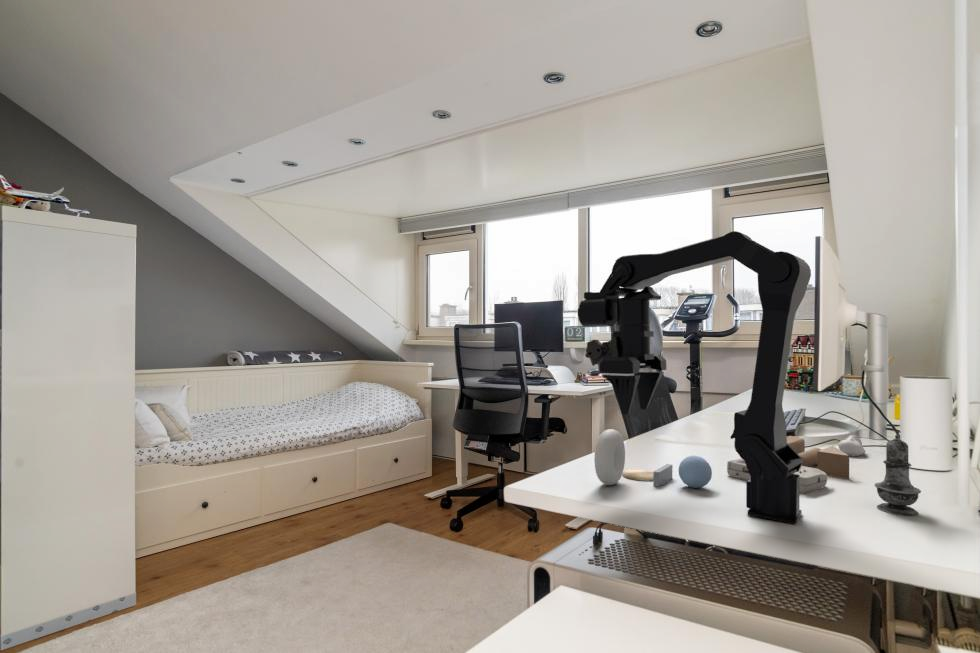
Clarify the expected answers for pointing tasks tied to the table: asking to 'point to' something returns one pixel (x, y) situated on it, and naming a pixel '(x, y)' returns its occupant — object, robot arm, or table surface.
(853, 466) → the table surface
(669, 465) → the gray rectangular bar
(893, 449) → the grey stone finial
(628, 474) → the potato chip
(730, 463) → the handheld gaming console
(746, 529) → the table surface
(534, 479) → the table surface
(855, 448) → the pale two-lobed sculpture
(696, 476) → the ball
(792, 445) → the wooden block set
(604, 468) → the white plump rounded part
